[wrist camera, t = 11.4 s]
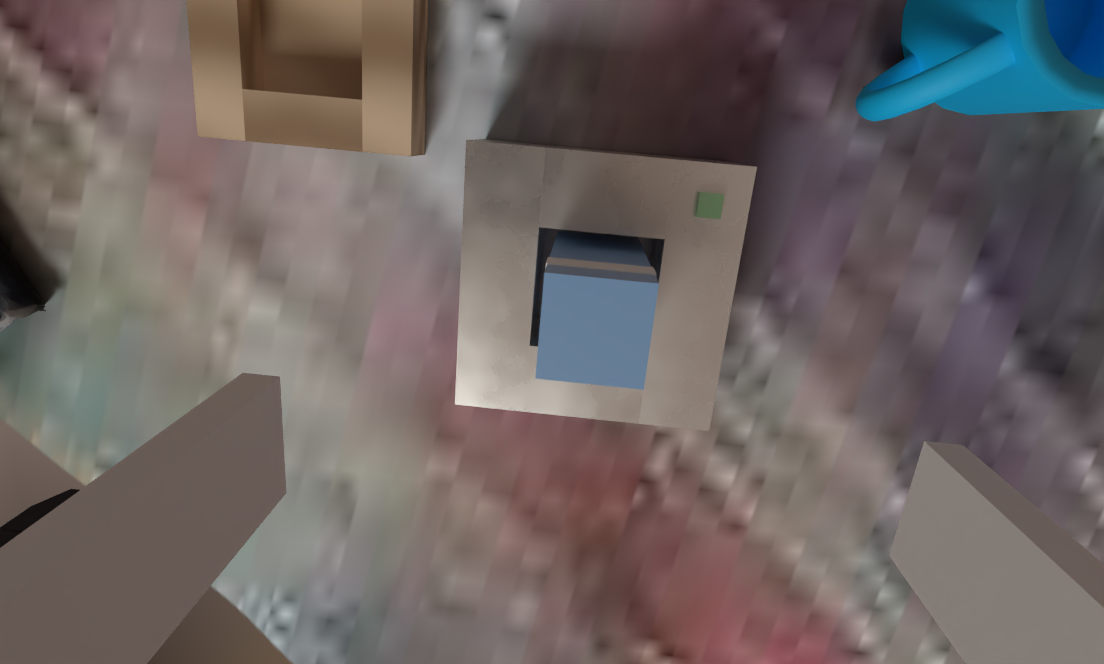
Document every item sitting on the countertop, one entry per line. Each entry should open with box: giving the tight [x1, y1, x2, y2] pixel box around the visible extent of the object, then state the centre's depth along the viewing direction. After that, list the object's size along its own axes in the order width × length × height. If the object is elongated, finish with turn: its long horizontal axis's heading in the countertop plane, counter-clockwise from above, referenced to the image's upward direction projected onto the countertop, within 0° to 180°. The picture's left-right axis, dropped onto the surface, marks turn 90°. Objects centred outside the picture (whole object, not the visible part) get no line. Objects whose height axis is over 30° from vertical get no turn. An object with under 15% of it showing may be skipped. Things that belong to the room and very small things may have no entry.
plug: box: [535, 230, 659, 390], centre depth 27 cm, size 4×4×10 cm
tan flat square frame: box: [186, 0, 428, 156], centre depth 29 cm, size 10×10×2 cm
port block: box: [455, 139, 757, 431], centre depth 30 cm, size 12×12×5 cm
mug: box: [856, 0, 1104, 121], centre depth 24 cm, size 12×8×8 cm
